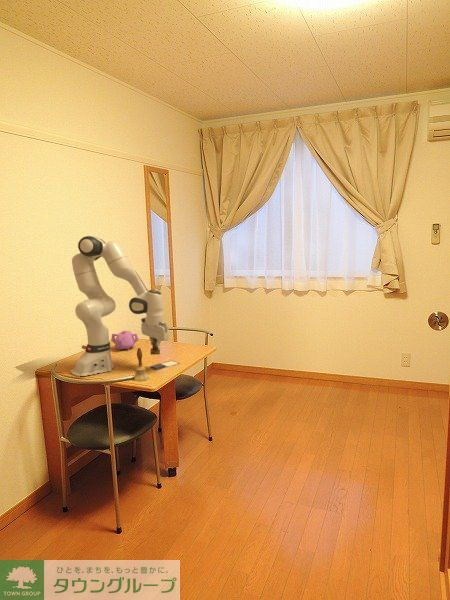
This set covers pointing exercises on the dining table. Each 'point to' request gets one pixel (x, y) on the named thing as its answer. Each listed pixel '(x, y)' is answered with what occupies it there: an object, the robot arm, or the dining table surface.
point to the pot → (124, 340)
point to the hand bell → (140, 369)
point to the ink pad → (157, 367)
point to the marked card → (170, 363)
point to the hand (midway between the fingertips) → (155, 345)
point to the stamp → (154, 347)
